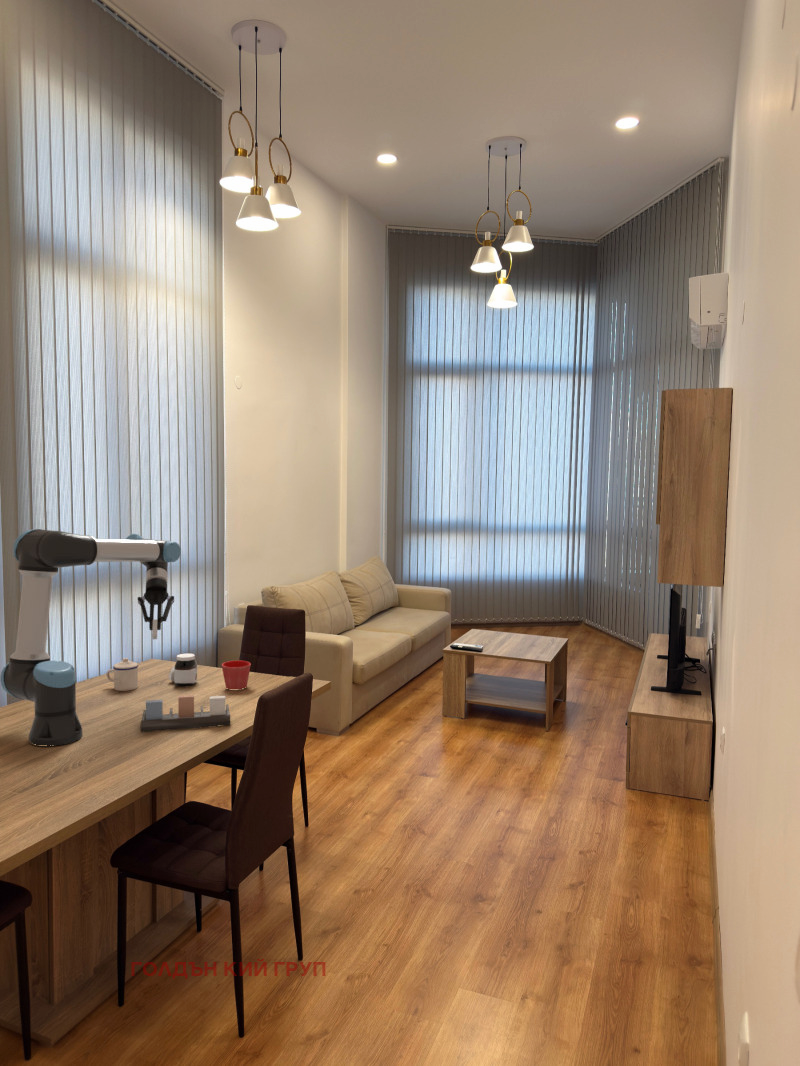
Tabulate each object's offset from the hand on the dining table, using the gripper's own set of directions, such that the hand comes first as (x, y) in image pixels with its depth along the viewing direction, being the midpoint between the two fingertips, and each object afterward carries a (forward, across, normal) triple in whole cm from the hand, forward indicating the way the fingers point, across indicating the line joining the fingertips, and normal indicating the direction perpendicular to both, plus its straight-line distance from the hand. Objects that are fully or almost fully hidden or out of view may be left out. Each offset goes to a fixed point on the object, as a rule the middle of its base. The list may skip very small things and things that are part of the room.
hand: (154, 637), depth 261 cm
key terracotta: (+29, -11, -6) cm, 31 cm away
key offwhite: (+31, -21, -3) cm, 37 cm away
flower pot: (+3, -29, -34) cm, 45 cm away
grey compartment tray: (+30, -11, -7) cm, 32 cm away
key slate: (+31, -1, -3) cm, 31 cm away
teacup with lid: (-4, +14, -41) cm, 44 cm away
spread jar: (-5, -8, -42) cm, 43 cm away
